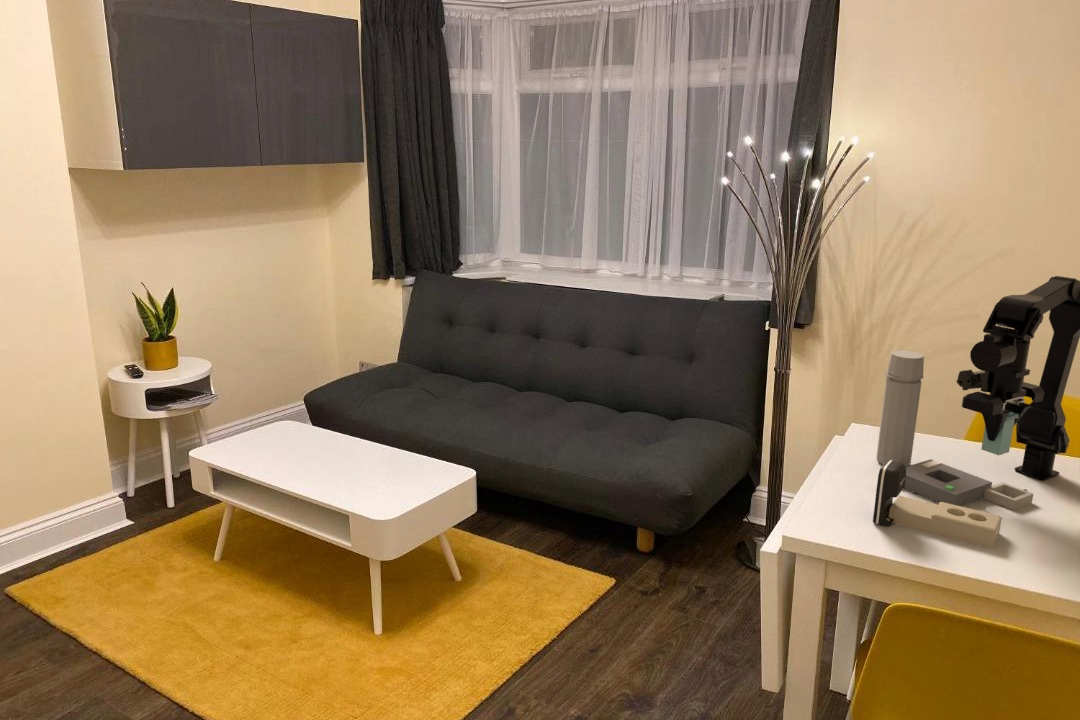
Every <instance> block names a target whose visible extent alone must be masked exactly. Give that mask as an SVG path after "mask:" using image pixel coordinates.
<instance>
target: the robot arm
mask: <svg viewBox="0 0 1080 720" xmlns="http://www.w3.org/2000/svg"><path fill="white" fill-rule="evenodd" d="M1047 312H1049V314H1048V315H1049V316H1048V320H1049V323H1050V326H1051V327H1052V328H1051V329H1052V331H1053V334H1052V338H1051V340H1050V345H1049V348H1048V353H1047V356H1046V359H1045V363H1044V367H1043V371H1042V374H1041V378H1040V381H1039V383H1038V385H1037V384H1034V383H1029V382H1025V381H1024V380H1025V377H1026V376H1029V375H1030V372H1031V369H1029V368H1027V364H1028V363H1027V362H1028V357H1029V350H1030V345H1031V340H1032V339H1034V338H1035V333H1036V331H1037V330H1038V329H1039V326H1040V325H1041V324H1042V323H1043V320H1044V314H1046V313H1047ZM982 332H983V333H986V334H984V336H983V340H982V341H978V342H977V343H976V344H974V345H973V347H972V348H971V350H970V356H969V357H970V362H971V363H972V365H973V366H974V367H975V368H976V369H978V370H980V371H973V370H972V369H967V370H960V371H959V373H958V375H957V379H956V384H957V385H958V386H959V387H961V389H962V391H968V390H972V389H980V391H975V392H971V393H967V394H966V395H964V396H963V397H962V403H961V408H964V409H966V410H969V411H973V412H977V413H980V415H982V419H983V421H984V428H985V427H986V432H987V437H988V440H990V441H995V439H996V437H997V436H998V434H999V432H1000V430H1001V428H1002V426H1003V425H1004V423H1005V421H1006V419H1007V417H1008V415H1009V413H1010V412H1013V413H1017V414H1019V416H1018V418H1016V419H1015V421H1014V427H1016V428H1015V430H1016V434H1015V435H1016V443H1018V444H1023V445H1025V447H1024V453H1023V458H1022V459H1023V460H1022V464H1021V465H1019V466H1017V467H1014V471H1015V472H1019V473H1021V474H1024V475H1027V476H1029V477H1033V478H1035V479H1037V480H1038V479H1039V480H1040V481H1045V480H1049V479H1051V478H1054V477H1057V476H1059V475H1060V472H1059V471H1057V470H1054V465H1055V459H1056V455H1058V454H1066V453H1067V451H1068V447H1069V444H1070V438H1069V435H1068V432H1067V429H1066V427H1065V425H1066V420H1067V418H1066V415H1065V412H1064V410H1063V407H1062V401H1063V397H1064V393H1065V390H1066V387H1067V383H1068V380H1069V376H1070V373H1071V369H1072V365H1073V362H1074V358H1075V355H1076V351H1077V349H1078V344H1079V341H1080V280H1079V279H1076V278H1074V277H1069V276H1068V277H1067V276H1060V275H1055V276H1051V277H1049V280H1048V281H1047V282H1045V283H1043V284H1041V285H1039V286H1037V287H1036V288H1034V289H1032V290H1030V291H1029V292H1027V293H1025V294H1009V295H1006V296H1003V297H1001V299H1000V300H998V302H997V303H995V305H994V307H993V310H992V311H991V313H990V315H989V317H988V319H987V321H986V323H985V325H984V327H983V329H982ZM988 393H989V394H988ZM1025 397H1026V398H1028V399H1029V398H1031V400H1032V401H1031V402H1030V403H1026V402H1025V401H1026V400H1025ZM1005 410H1007V411H1005ZM1009 411H1010V412H1009Z"/></svg>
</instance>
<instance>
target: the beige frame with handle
mask: <svg viewBox="0 0 1080 720" xmlns="http://www.w3.org/2000/svg"><path fill="white" fill-rule="evenodd" d="M983 499H984V500H987V501H990V502H991V503H994V504H997V505H1000V506H1002V507H1005V508H1007V509H1010V510H1013V511H1014V510H1017V509H1020V508H1023V507H1025V506H1028V505H1031V504H1032V503H1033V499H1034V493H1032V492H1030V491H1028V490H1027V489H1022V488H1019V487H1016V486H1013V485H1011V484H1009V483H1006V482H1000V483H997V484H994V485H992V487H990V488H987V489H985V492H984V498H983Z"/></svg>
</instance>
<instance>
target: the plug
mask: <svg viewBox="0 0 1080 720" xmlns="http://www.w3.org/2000/svg"><path fill="white" fill-rule="evenodd" d="M1005 411H1007V410H1005ZM1009 412H1010V411H1009ZM1018 416H1019V414H1017V413H1013V412H1010V413H1009V415H1008V417H1007V419H1006V421H1005V423H1004V425H1003V426H1002V428H1001V430H1000V432H999V434H998V436H997V437H996V439H995V441H990V440H988V437H987V432H986V427H985V426H984V432H983V436H982V437H983V438H982V443H981V451H985V452H988V453H991V454H993V455H997V456H1002V455H1005V454H1007V453H1010V450H1011V449H1010V448H1011V443H1012V436H1013V432H1014V427H1015V426H1014V421H1015V419H1016V418H1018Z"/></svg>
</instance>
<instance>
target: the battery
mask: <svg viewBox="0 0 1080 720" xmlns="http://www.w3.org/2000/svg"><path fill="white" fill-rule="evenodd" d="M906 467H907V466H905V465H904V464H903V463H900V462H896V461H893V460H887V461H886V462H885V463H884V464H881V467H880V468H879V471H878V477H877V481H876V490H875V500H874V508H873V517H872V523H874V524H875V525H880V526H886V527H887V526H889V527H890V526H891V525H892V524H893V523H892V522H893V521H894V519H892V517H891V516H890V515H889V511H890V507H891V506H892V505H893V503H894V502H893V498H898V496H900V494H901V492H902V491H903V490H904V487H905V481H906ZM889 517H890V518H889Z"/></svg>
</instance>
